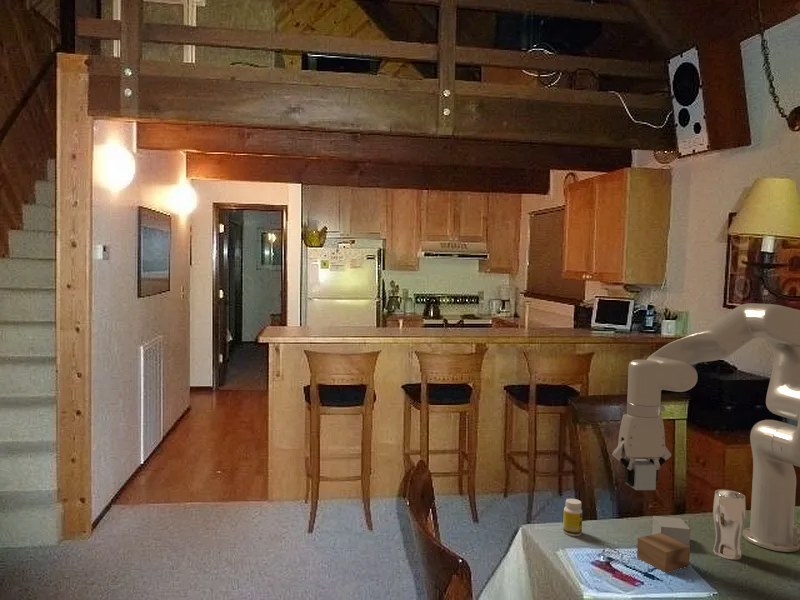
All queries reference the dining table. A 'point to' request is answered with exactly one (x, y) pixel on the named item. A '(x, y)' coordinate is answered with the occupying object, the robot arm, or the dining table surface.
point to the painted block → (644, 475)
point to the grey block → (672, 528)
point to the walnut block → (663, 552)
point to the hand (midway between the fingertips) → (640, 483)
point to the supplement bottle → (572, 517)
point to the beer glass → (728, 523)
